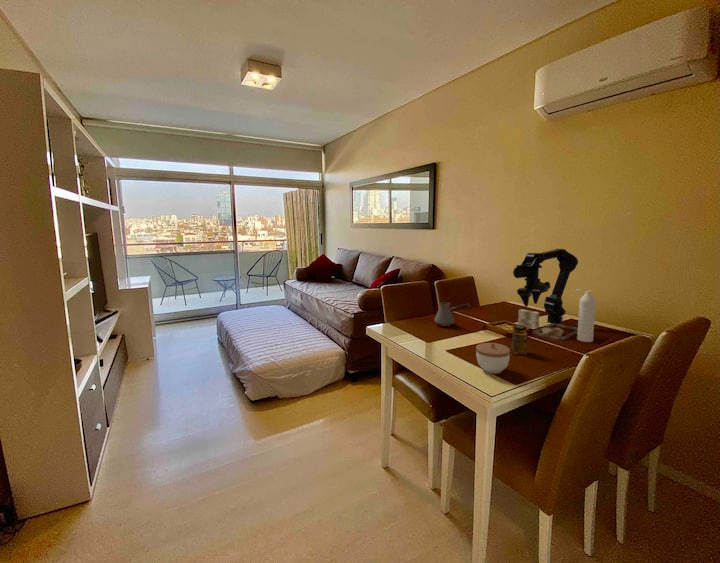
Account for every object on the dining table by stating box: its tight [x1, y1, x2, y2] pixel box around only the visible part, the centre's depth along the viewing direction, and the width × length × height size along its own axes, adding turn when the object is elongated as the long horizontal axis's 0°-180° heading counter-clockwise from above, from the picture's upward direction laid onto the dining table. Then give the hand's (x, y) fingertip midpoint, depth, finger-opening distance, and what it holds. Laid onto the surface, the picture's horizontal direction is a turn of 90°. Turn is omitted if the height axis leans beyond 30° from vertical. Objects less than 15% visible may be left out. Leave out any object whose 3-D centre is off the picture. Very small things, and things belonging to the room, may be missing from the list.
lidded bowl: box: [475, 342, 511, 375], centre depth 135 cm, size 13×13×11 cm
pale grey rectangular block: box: [517, 308, 540, 330], centre depth 186 cm, size 10×3×9 cm, turn 36°
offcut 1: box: [541, 327, 564, 335], centre depth 171 cm, size 8×5×2 cm, turn 89°
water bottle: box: [575, 288, 597, 343], centre depth 162 cm, size 9×6×25 cm
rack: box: [531, 323, 578, 342], centre depth 175 cm, size 14×23×2 cm, turn 126°
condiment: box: [511, 324, 528, 353], centre depth 152 cm, size 7×8×12 cm
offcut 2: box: [542, 331, 563, 338], centre depth 172 cm, size 8×5×2 cm, turn 64°
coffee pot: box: [433, 301, 470, 325], centre depth 193 cm, size 21×12×15 cm, turn 44°
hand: (530, 305), depth 184 cm, fingers open, 9 cm apart
